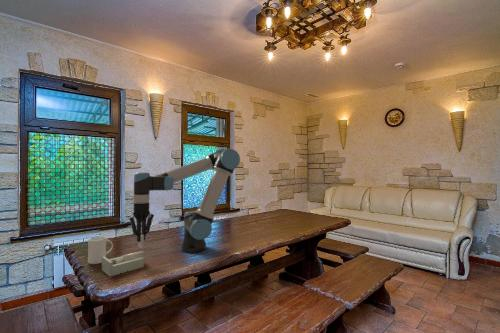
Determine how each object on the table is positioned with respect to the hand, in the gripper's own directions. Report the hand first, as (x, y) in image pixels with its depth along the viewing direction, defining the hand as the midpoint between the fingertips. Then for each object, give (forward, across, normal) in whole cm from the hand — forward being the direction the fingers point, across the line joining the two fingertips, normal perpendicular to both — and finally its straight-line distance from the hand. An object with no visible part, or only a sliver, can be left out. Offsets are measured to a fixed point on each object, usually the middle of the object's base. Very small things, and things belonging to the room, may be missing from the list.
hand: (141, 247), depth 137 cm
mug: (+9, +13, -19) cm, 25 cm away
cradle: (+8, +9, 0) cm, 12 cm away
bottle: (+5, -1, 0) cm, 5 cm away
